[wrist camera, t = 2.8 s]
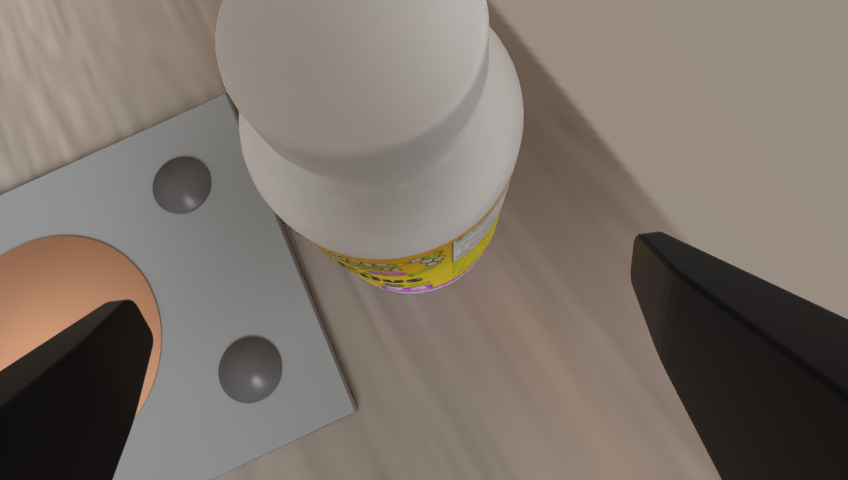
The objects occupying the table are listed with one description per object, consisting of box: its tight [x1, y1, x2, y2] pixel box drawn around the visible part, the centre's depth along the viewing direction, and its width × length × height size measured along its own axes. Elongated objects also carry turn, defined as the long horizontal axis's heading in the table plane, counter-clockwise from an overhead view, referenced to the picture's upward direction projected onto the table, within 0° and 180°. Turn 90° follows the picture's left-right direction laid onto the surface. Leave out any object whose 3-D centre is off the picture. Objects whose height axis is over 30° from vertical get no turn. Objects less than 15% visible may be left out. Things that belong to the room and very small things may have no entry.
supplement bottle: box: [215, 0, 524, 293], centre depth 15 cm, size 7×7×13 cm
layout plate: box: [0, 94, 358, 480], centre depth 21 cm, size 16×14×1 cm
